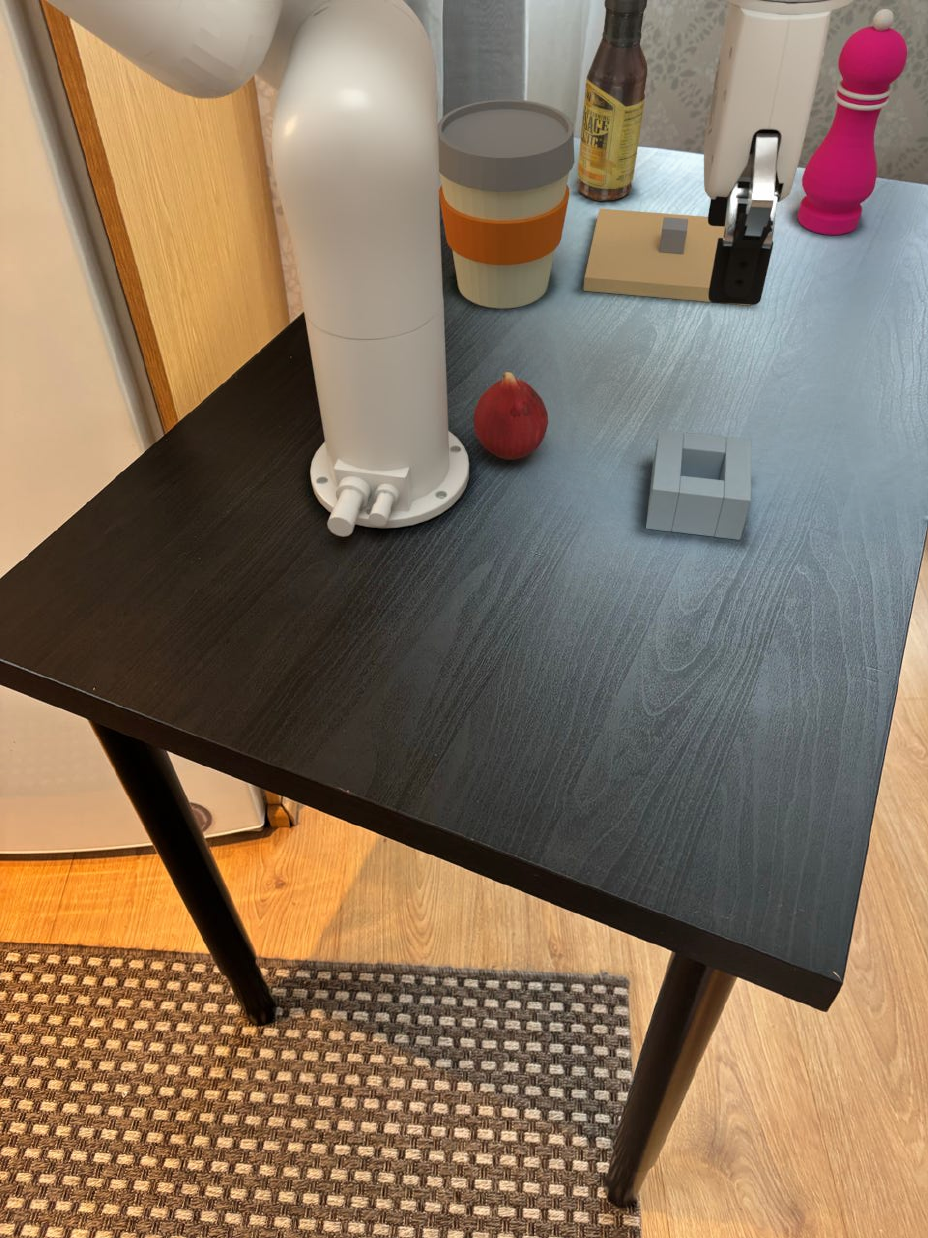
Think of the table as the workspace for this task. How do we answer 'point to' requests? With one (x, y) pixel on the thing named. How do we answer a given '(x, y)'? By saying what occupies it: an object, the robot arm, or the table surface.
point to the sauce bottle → (613, 104)
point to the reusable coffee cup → (504, 196)
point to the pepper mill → (852, 130)
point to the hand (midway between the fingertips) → (731, 261)
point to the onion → (510, 418)
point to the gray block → (700, 484)
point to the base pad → (652, 255)
